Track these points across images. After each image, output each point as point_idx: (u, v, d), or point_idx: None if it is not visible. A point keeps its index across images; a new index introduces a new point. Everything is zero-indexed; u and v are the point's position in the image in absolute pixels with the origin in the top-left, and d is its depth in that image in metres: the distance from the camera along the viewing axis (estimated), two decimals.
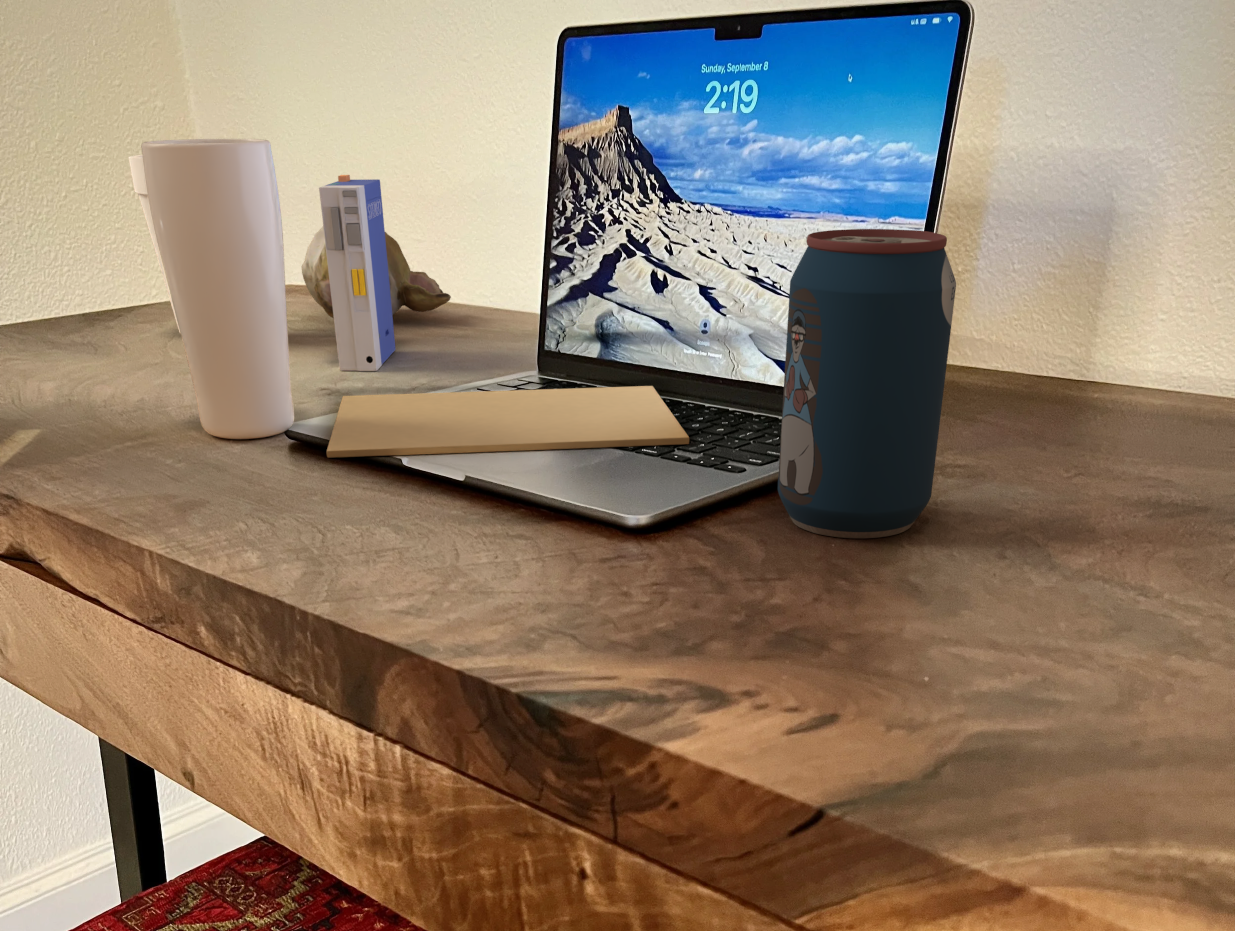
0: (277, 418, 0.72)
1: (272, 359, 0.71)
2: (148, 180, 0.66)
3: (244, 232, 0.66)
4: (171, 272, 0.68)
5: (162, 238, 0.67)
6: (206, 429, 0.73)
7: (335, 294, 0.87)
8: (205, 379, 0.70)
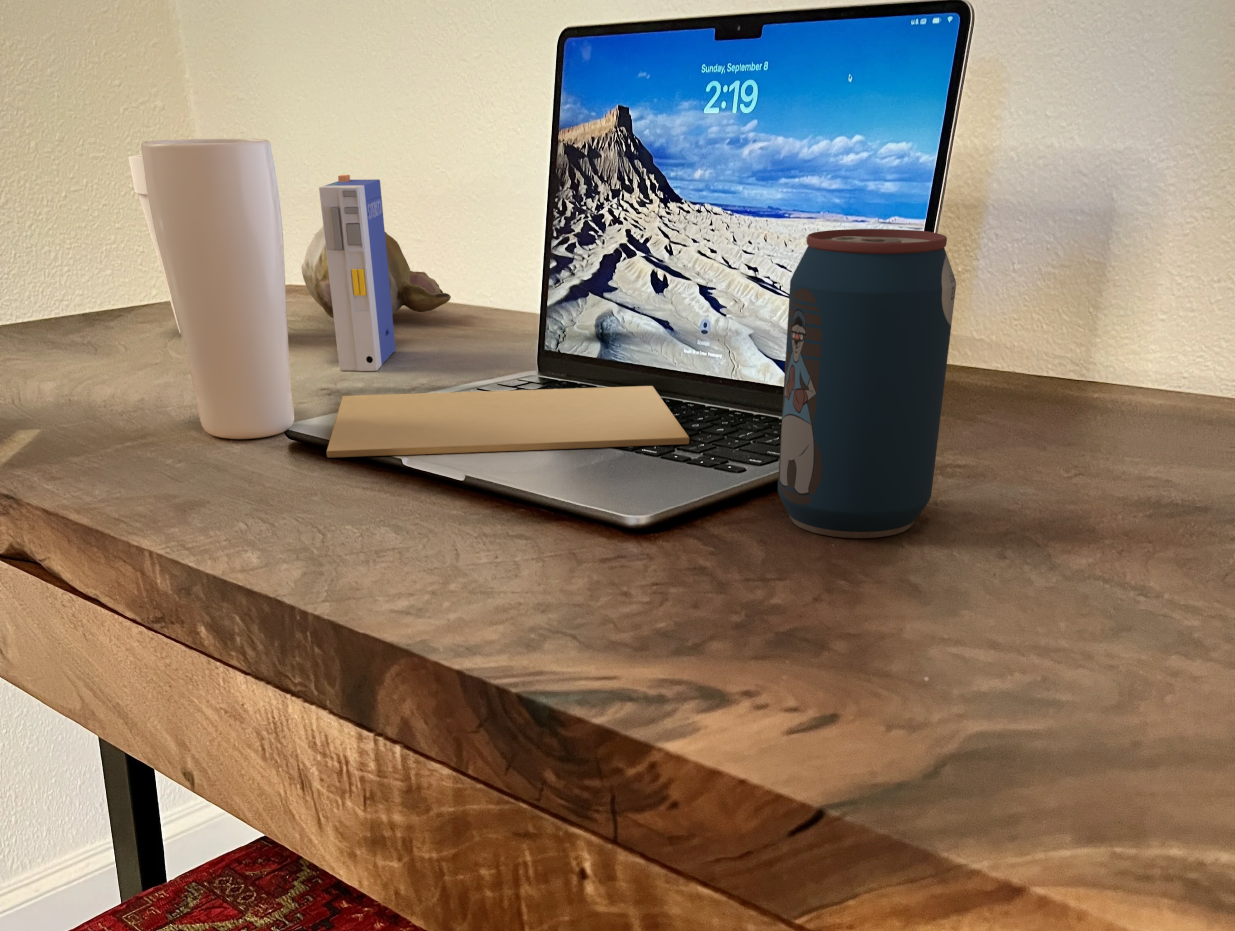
0: (277, 418, 0.72)
1: (272, 359, 0.71)
2: (148, 180, 0.66)
3: (244, 231, 0.66)
4: (171, 272, 0.68)
5: (162, 238, 0.67)
6: (206, 429, 0.73)
7: (335, 294, 0.87)
8: (205, 379, 0.70)
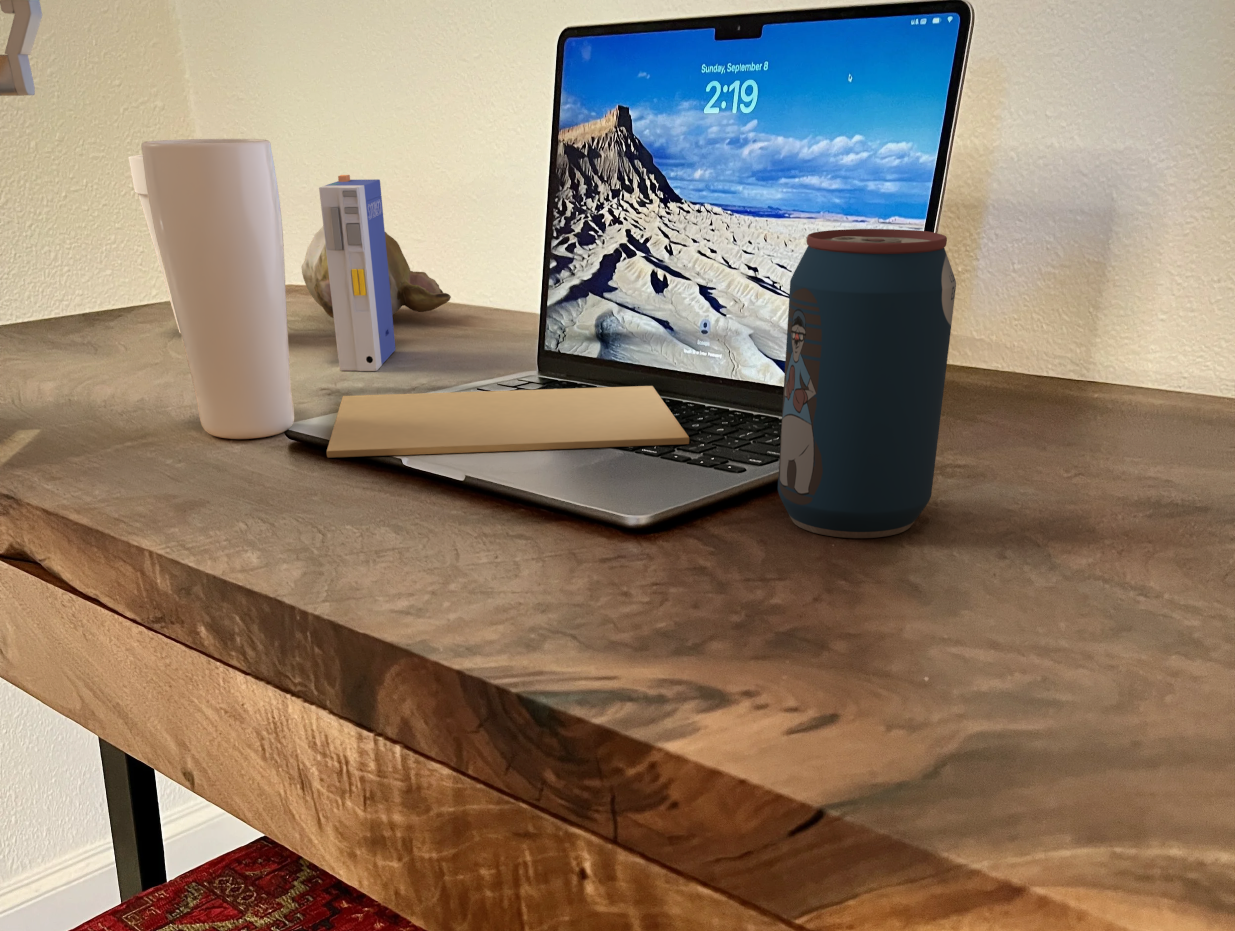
0: (277, 418, 0.72)
1: (272, 359, 0.71)
2: (148, 180, 0.66)
3: (244, 231, 0.66)
4: (171, 272, 0.68)
5: (162, 238, 0.67)
6: (206, 429, 0.73)
7: (335, 294, 0.87)
8: (205, 379, 0.70)
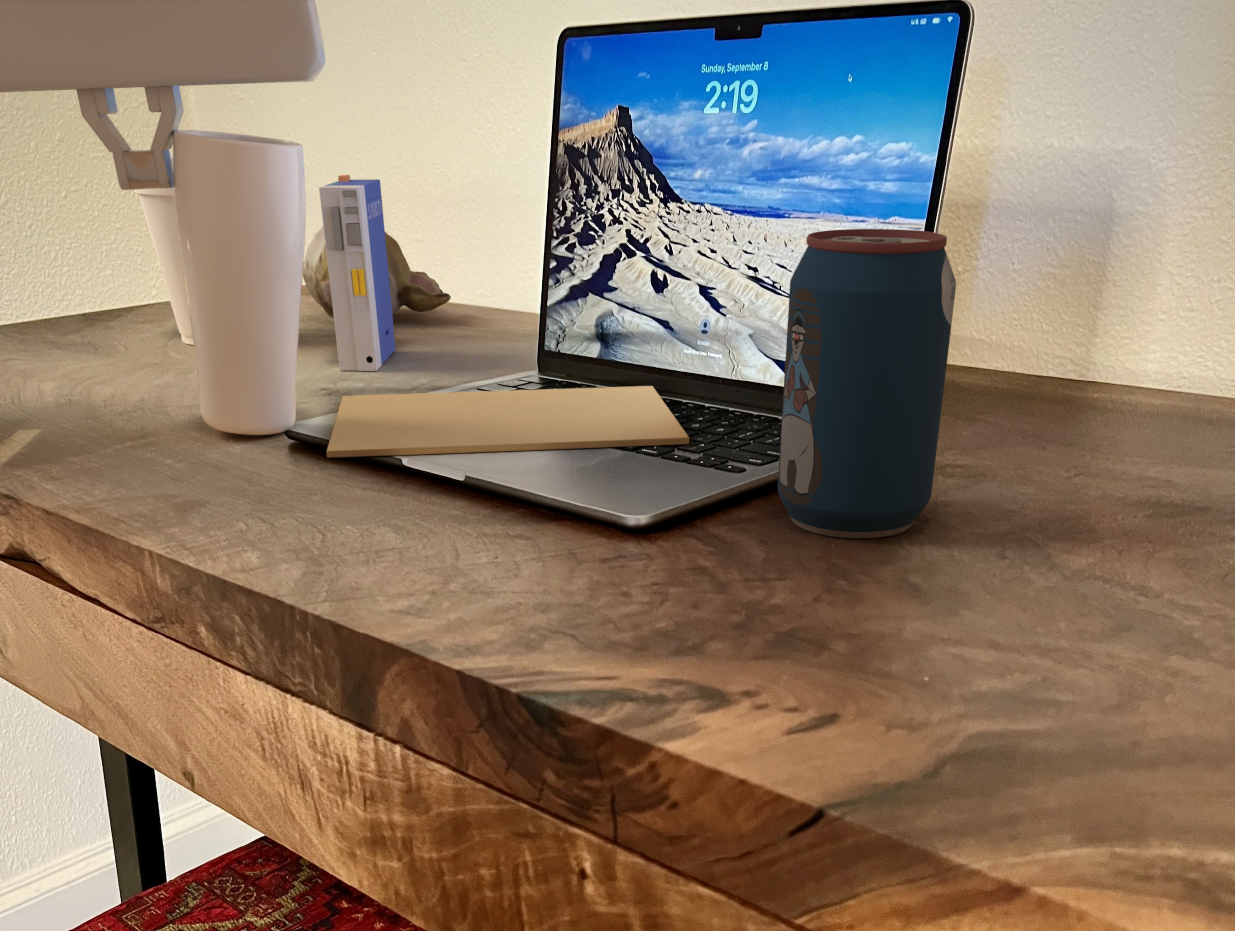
0: (279, 418, 0.72)
1: (281, 359, 0.71)
2: (177, 169, 0.66)
3: (268, 232, 0.67)
4: (189, 262, 0.68)
5: (184, 228, 0.67)
6: (206, 420, 0.72)
7: (335, 294, 0.87)
8: (212, 371, 0.70)
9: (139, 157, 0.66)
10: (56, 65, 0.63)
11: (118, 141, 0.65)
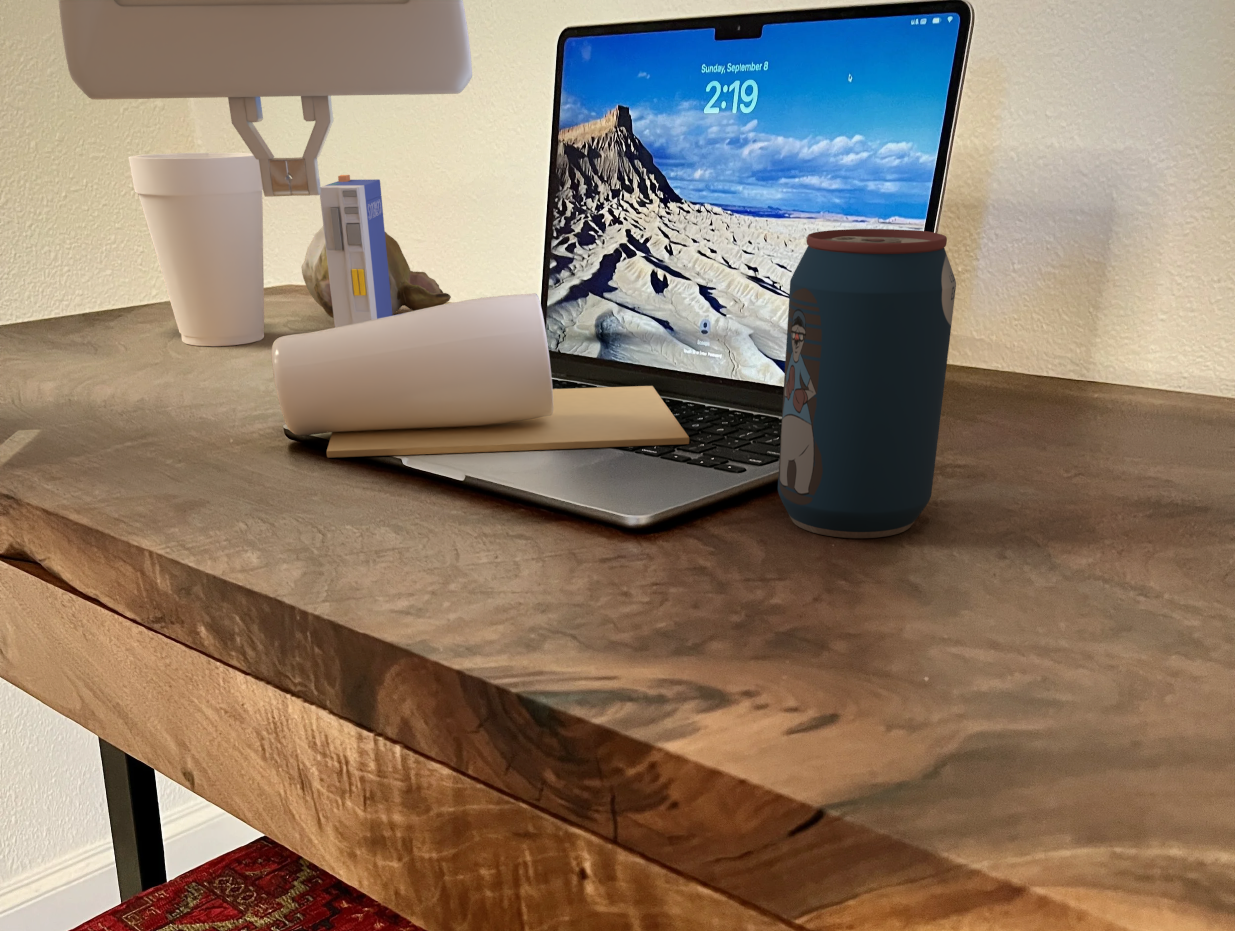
0: None
1: None
2: (515, 340, 0.68)
3: (482, 424, 0.72)
4: (436, 362, 0.68)
5: (466, 355, 0.68)
6: (281, 378, 0.68)
7: (335, 294, 0.87)
8: (338, 390, 0.69)
9: (284, 164, 0.67)
10: (214, 73, 0.64)
11: (265, 149, 0.66)
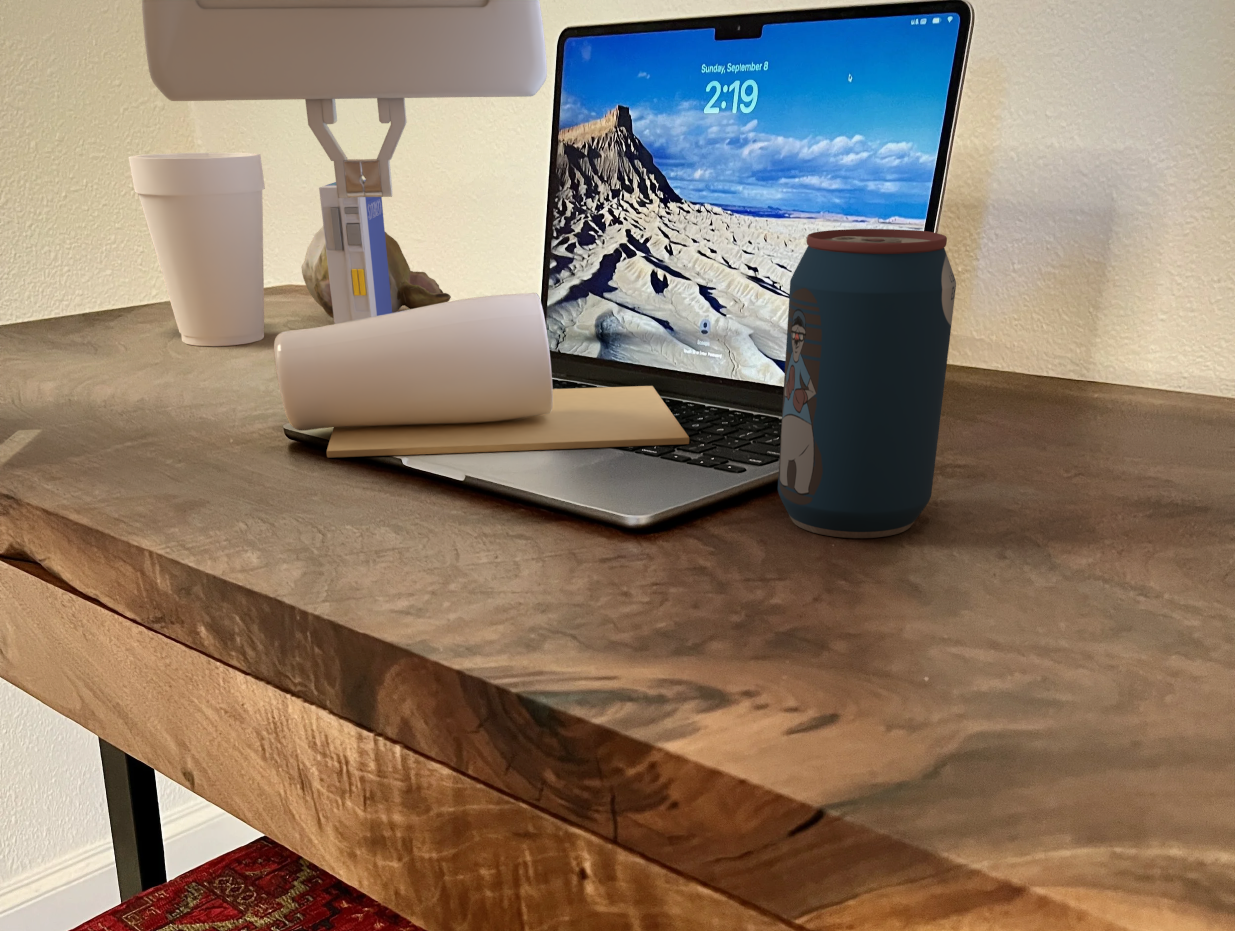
0: (308, 429, 0.72)
1: (365, 425, 0.72)
2: (514, 322, 0.69)
3: (481, 415, 0.72)
4: (436, 342, 0.69)
5: (465, 335, 0.69)
6: (282, 359, 0.69)
7: (335, 294, 0.87)
8: (338, 370, 0.69)
9: (359, 166, 0.67)
10: (293, 76, 0.64)
11: (340, 150, 0.67)
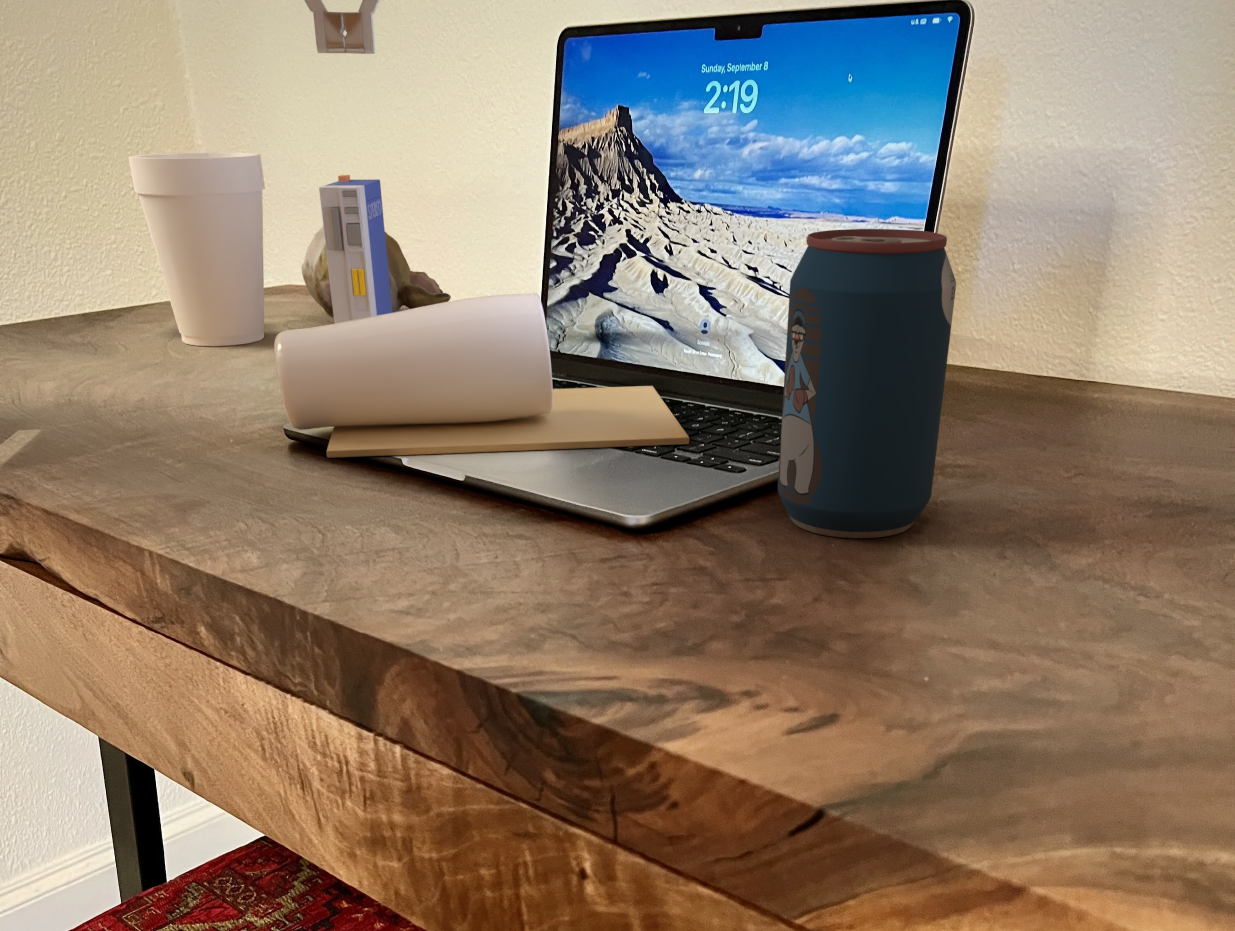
0: (308, 428, 0.72)
1: (365, 424, 0.72)
2: (514, 321, 0.70)
3: (481, 414, 0.72)
4: (436, 340, 0.69)
5: (466, 334, 0.69)
6: (282, 357, 0.69)
7: (335, 294, 0.87)
8: (338, 368, 0.69)
9: (340, 18, 0.64)
10: None
11: (320, 0, 0.64)
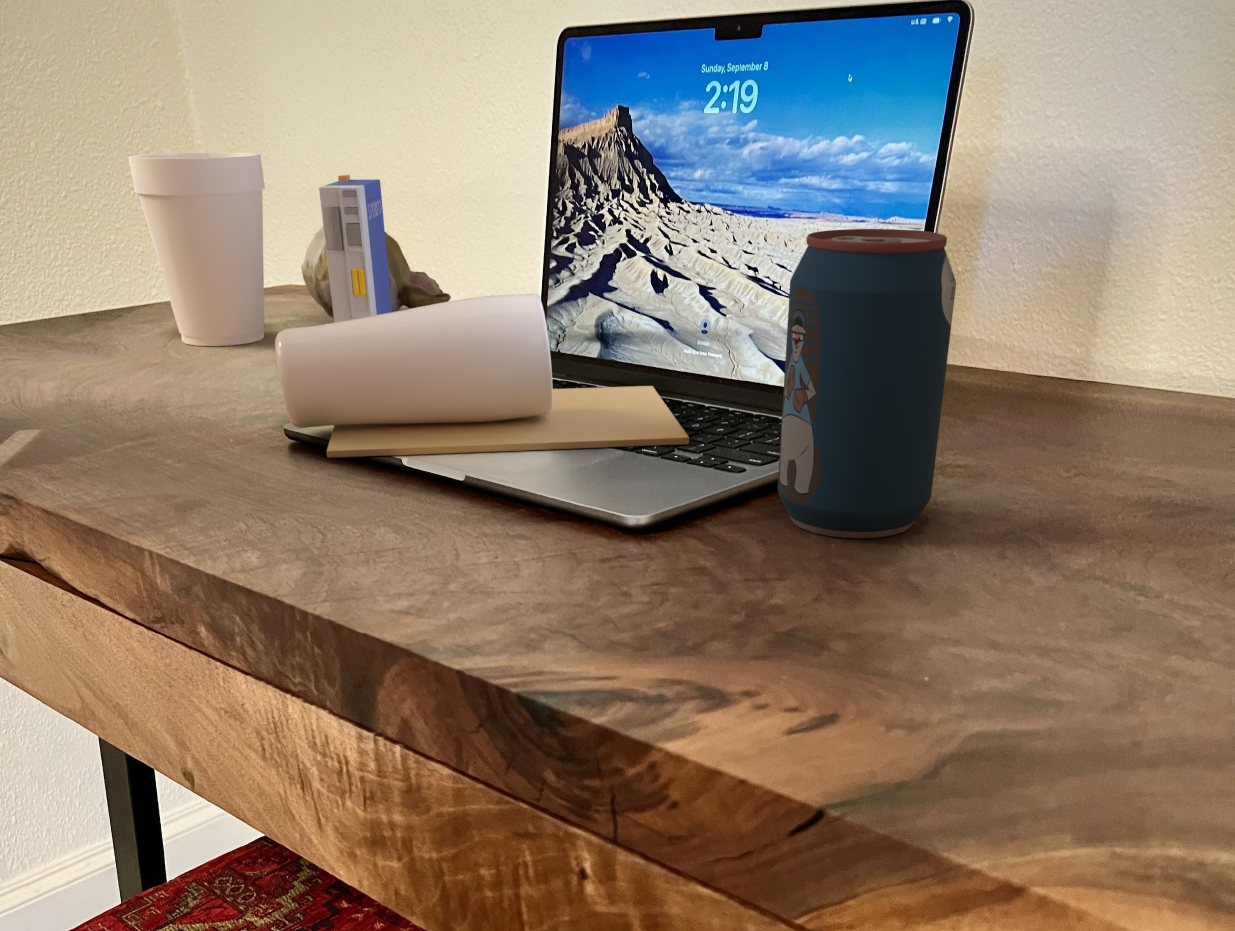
0: (307, 425, 0.72)
1: (365, 423, 0.72)
2: (514, 318, 0.70)
3: (481, 412, 0.72)
4: (436, 336, 0.69)
5: (466, 330, 0.69)
6: (282, 353, 0.69)
7: (335, 294, 0.87)
8: (338, 364, 0.69)
9: None
10: None
11: None
